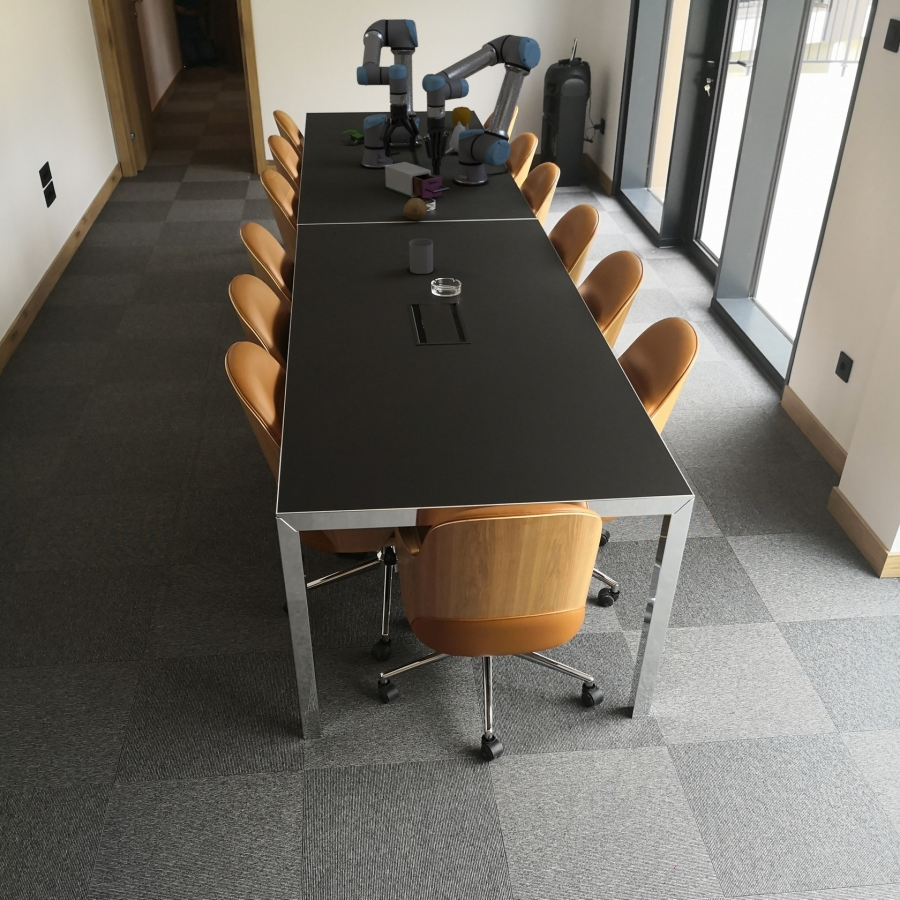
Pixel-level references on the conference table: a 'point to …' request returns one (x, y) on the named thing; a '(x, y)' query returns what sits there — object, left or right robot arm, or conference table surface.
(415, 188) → the drawer
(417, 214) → the potato
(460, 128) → the toy
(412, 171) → the cabinet
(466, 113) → the apple
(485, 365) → the conference table surface
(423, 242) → the cup
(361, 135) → the green irregular shape
